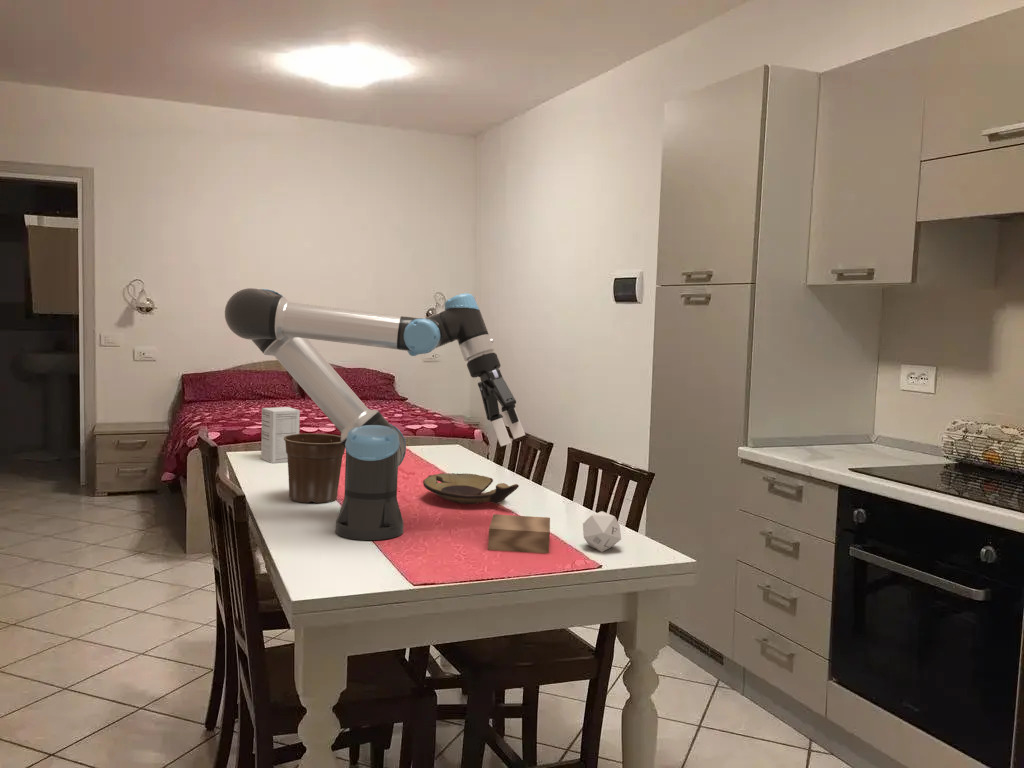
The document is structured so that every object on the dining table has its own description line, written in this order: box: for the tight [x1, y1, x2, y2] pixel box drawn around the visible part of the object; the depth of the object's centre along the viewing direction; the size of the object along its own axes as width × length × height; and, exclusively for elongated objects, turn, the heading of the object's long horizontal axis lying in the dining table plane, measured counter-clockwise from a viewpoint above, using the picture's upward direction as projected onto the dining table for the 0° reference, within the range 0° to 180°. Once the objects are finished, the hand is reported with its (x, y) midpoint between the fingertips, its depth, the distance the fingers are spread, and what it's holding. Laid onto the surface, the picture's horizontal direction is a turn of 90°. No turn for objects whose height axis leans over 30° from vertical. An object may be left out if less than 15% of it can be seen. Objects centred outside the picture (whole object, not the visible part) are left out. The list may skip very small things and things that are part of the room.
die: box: [582, 510, 622, 553], centre depth 181 cm, size 8×9×10 cm
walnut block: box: [487, 513, 551, 554], centre depth 182 cm, size 13×13×5 cm
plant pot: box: [284, 432, 346, 504], centre depth 214 cm, size 16×16×16 cm
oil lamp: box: [422, 472, 520, 505], centre depth 219 cm, size 22×30×8 cm
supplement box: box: [260, 406, 301, 464], centre depth 266 cm, size 10×9×17 cm
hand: (512, 441), depth 192 cm, fingers open, 13 cm apart
